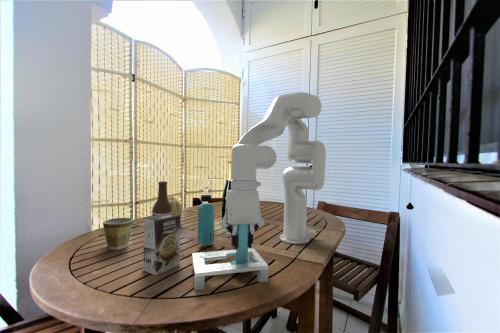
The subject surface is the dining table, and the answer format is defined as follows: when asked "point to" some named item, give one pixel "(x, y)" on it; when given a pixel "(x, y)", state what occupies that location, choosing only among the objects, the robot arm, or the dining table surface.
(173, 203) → the cantaloupe
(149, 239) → the food box
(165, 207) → the beer bottle
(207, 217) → the beverage bottle
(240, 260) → the flanged peg
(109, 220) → the ceramic cup
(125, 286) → the dining table surface
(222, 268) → the keyhole plate
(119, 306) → the dining table surface
